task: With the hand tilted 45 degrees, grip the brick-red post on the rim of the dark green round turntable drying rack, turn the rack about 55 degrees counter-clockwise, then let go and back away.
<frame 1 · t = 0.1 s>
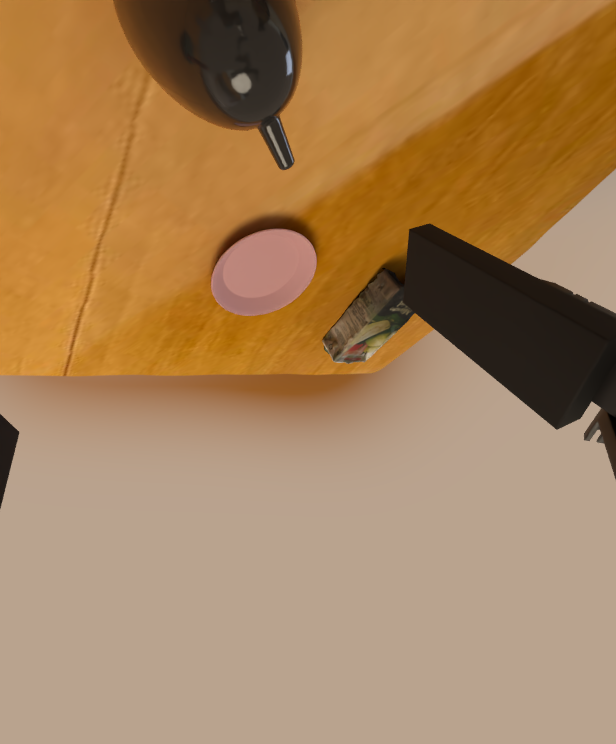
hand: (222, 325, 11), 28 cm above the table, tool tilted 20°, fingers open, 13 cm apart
plate: (260, 266, 48), on the table
juice carton: (364, 307, 66), on the table
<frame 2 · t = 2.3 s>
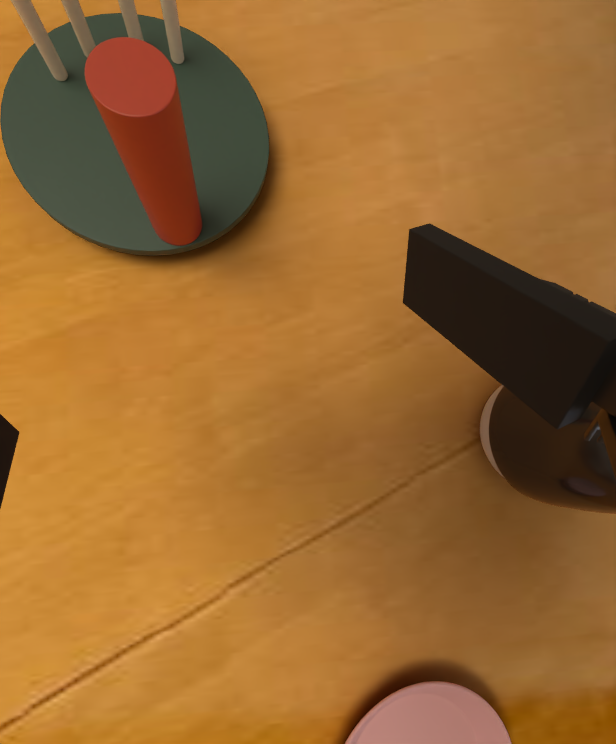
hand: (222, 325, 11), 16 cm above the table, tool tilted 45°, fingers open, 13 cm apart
pump dispenser: (510, 430, 31), on the table
drying rack: (122, 63, 20), point 7 cm above the table, hinge at 0.0°
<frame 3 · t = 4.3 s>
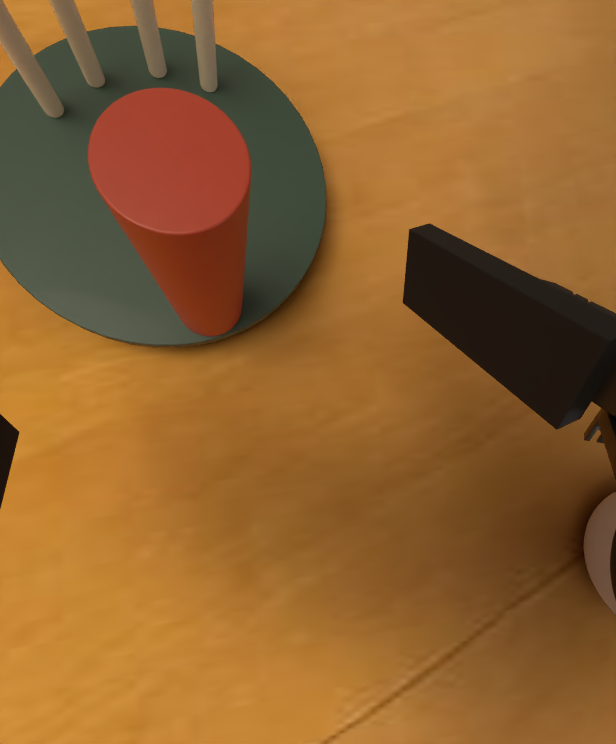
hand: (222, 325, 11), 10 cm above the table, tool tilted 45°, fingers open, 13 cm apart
pump dispenser: (614, 543, 25), on the table
drying rack: (141, 103, 14), point 7 cm above the table, hinge at 0.0°
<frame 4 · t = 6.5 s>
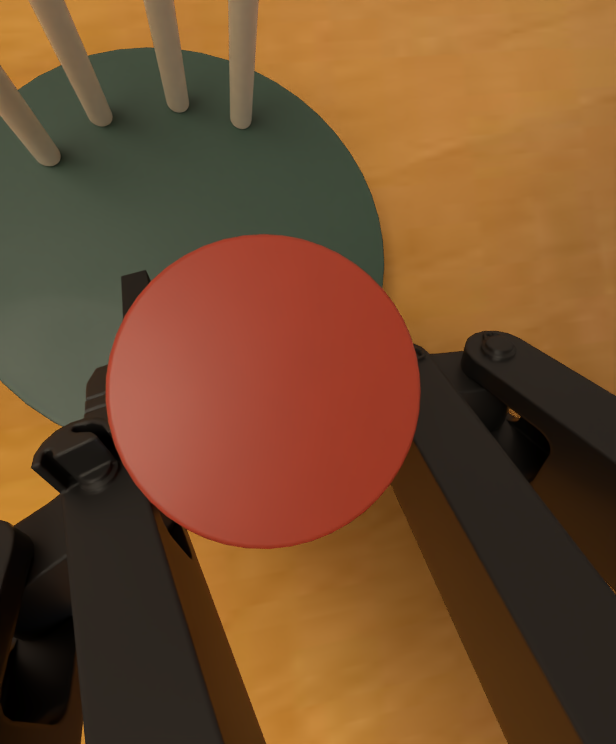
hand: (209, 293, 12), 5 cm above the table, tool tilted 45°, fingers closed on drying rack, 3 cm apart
drying rack: (166, 165, 10), point 7 cm above the table, hinge at 0.0°, touching gripper
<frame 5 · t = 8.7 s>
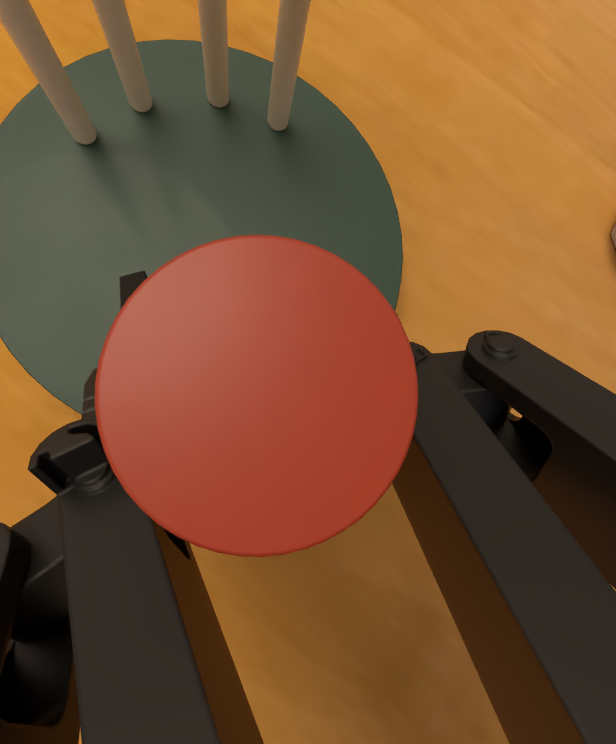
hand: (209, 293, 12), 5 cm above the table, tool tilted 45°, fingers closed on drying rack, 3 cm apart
drying rack: (196, 156, 10), point 7 cm above the table, hinge at 46.0°, touching gripper
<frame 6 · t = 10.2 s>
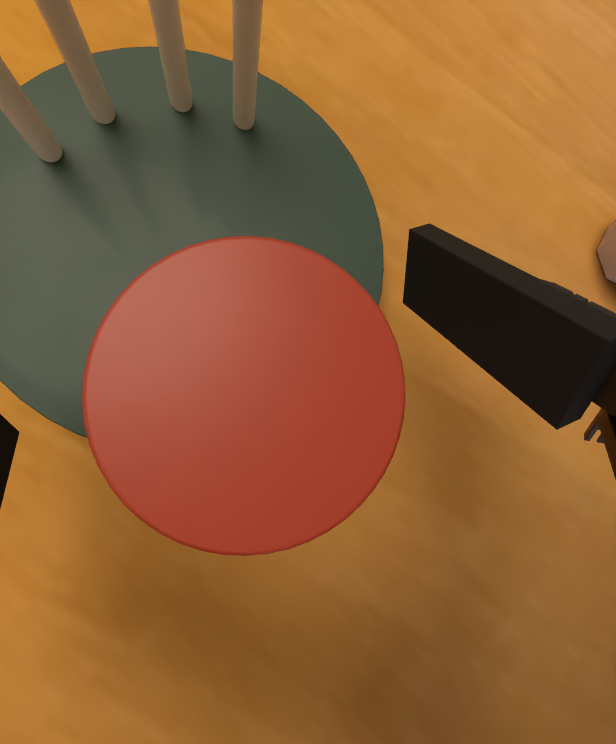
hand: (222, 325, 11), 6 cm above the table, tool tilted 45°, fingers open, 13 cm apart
drying rack: (165, 164, 10), point 7 cm above the table, hinge at 53.5°
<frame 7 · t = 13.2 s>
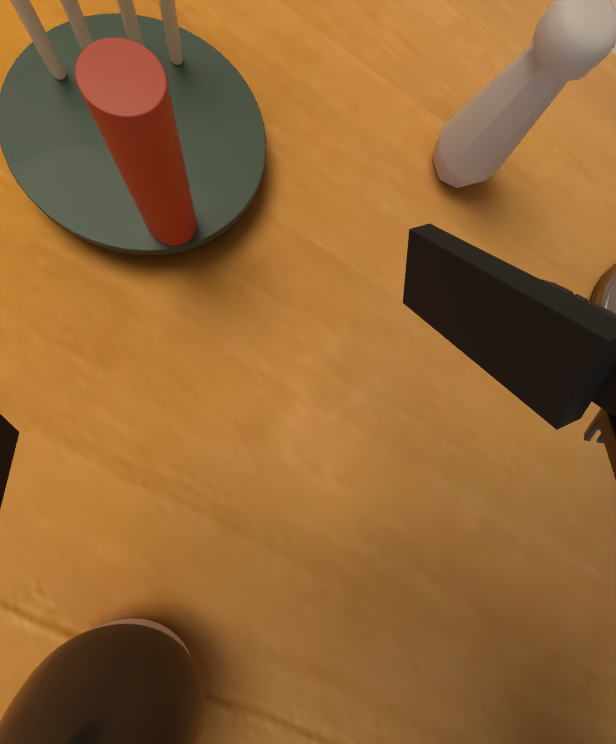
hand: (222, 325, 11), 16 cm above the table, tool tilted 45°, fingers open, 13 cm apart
salt shaker: (452, 167, 32), on the table
pump dispenser: (128, 672, 24), on the table
drying rack: (118, 63, 20), point 7 cm above the table, hinge at 53.5°
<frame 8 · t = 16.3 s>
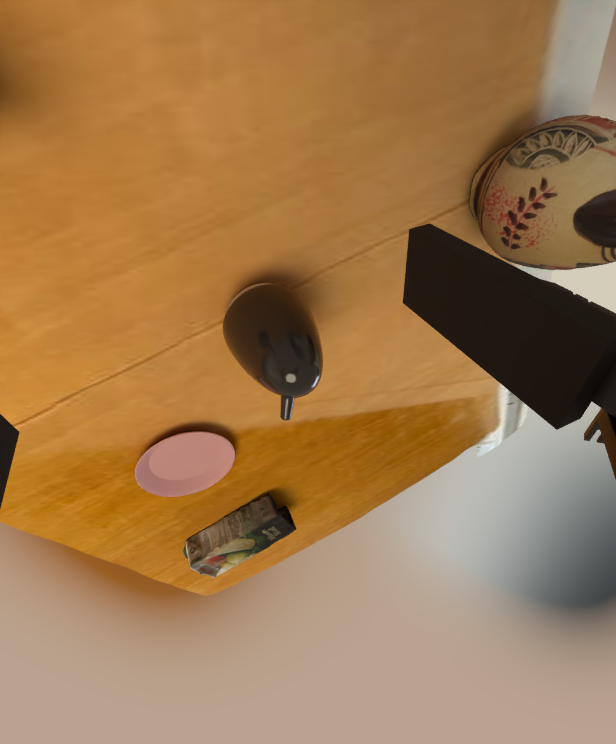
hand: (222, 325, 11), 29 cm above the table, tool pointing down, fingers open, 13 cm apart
plate: (185, 455, 56), on the table
pump dispenser: (257, 309, 45), on the table
ceramic jug: (494, 180, 47), on the table
juice carton: (236, 521, 73), on the table
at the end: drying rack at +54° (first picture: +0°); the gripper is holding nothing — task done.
